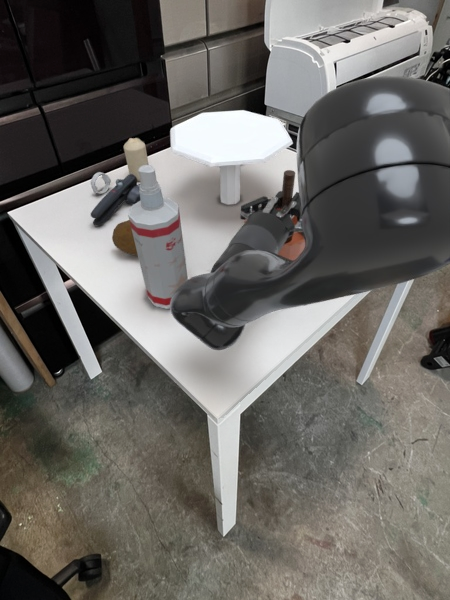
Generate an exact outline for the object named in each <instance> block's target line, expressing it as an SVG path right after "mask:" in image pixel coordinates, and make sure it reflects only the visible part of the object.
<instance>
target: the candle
mask: <svg viewBox="0 0 450 600" xmlns="http://www.w3.org/2000/svg"><path fill="white" fill-rule="evenodd" d="M123 152H124V155H125V160H126V164H127V169H128V175H130V174H133V175H135V176H136V178H137V182H140V177H139V172H138V170H139V168H140V167H141V166H143V165H150V164H149V160H148V159H149V158H148V154H147V153H148V152H147V148H146V144H145V142H144V141H143V140H141V139H140V138H139V137H135V138H134V137H133V138H132V137H130V138H129V139H128V140H127V141H126V142H125V143H124V145H123Z"/></svg>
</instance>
